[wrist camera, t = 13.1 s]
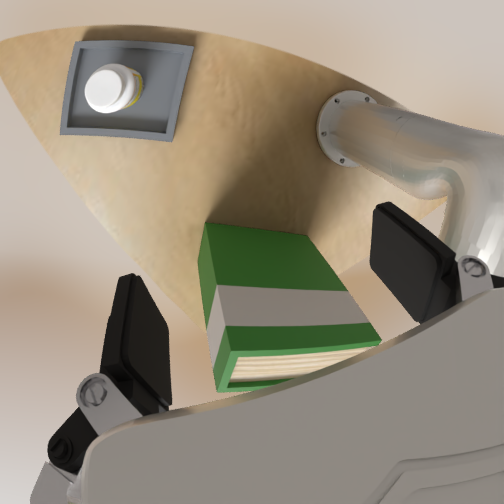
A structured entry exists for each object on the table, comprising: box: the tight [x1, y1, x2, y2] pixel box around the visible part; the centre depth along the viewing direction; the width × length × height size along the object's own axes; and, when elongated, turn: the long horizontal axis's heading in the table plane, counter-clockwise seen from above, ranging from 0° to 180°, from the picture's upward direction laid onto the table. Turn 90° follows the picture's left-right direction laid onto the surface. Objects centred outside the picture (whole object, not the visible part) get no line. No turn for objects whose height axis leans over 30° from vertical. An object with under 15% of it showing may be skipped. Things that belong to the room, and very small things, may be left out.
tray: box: [60, 40, 194, 142], centre depth 28 cm, size 16×13×2 cm
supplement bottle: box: [85, 64, 144, 113], centre depth 24 cm, size 6×6×10 cm
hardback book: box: [198, 222, 382, 392], centre depth 37 cm, size 18×7×24 cm, turn 74°
